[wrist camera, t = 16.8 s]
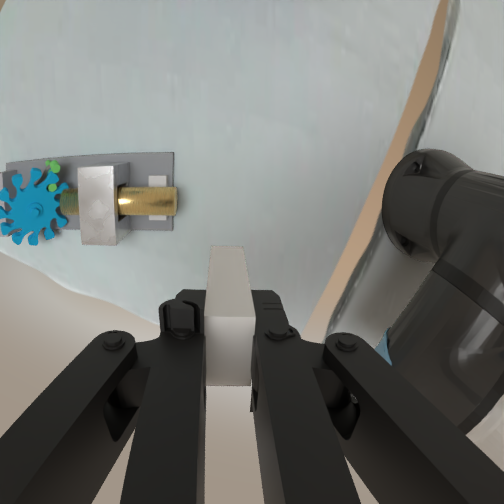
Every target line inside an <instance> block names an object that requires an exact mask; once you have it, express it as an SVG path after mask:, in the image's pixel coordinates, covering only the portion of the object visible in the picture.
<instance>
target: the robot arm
mask: <svg viewBox="0 0 504 504" xmlns="http://www.w3.org/2000/svg"><path fill="white" fill-rule="evenodd" d="M382 217H383V222H384V226H385V229H386V232H387V234H388V236H389V238H390V240H391V241H392V242H393V244H394V245H395V246H396V247H397V248H398V249H399V250H401V251H402V252H403V253H405V254H406V255H408V256H409V257H411V258H413V259H416V260H418V261H422V262H432V263H436V264H435V265H434V267H433V269H432V270H431V271H430V273H429V274H428V276H427V277H426V279H425V280H424V282H423V283H422V285H421V286H420V288H419V289H418V291H417V292H416V294H415V295H414V297H413V298H412V300H411V301H410V303H409V304H408V305H407V307H406V308H405V309H404V311H403V312H402V314H401V315H400V316H399V318H398V319H397V320H396V321H395V323H394V324H393V325H392V327H391V328H388V329H387V330H386V331H385V333H384V335H383V338H382V340H381V341H380V343H379V344H378V345H377V347H376V348H375V350H374V349H373V348H372V347H371V346H370V345H369V344H368V343H367V342H365V341H364V340H363V339H362V338H360V337H359V336H356V335H353V334H351V333H344V332H342V333H334V334H331V335H329V336H328V337H327V338H326V340H325V344H320V343H313V342H309V341H305V340H303V339H301V337H300V334H299V332H298V331H297V330H296V329H295V328H293V327H292V326H290V325H289V323H288V320H287V317H286V314H285V311H284V310H283V306H282V304H281V300H280V297H279V296H278V295H277V294H276V293H275V292H274V291H272V290H251V288H250V283H249V277H248V272H247V266H246V261H245V255H244V250H243V247H236V246H211V253H210V262H209V271H208V280H207V290H188V289H183V290H182V291H181V292H179V293H178V294H177V295H176V298H175V299H172V300H168V301H166V302H164V303H162V304H161V305H160V307H159V319H160V329H161V333H160V336H159V337H158V338H156V339H153V340H150V341H145V342H137V343H135V338H134V337H133V336H132V335H131V334H130V333H127V332H125V331H117V330H113V331H107V332H105V333H102V334H100V335H98V336H97V337H96V338H94V339H93V340H92V342H90V344H88V346H87V347H85V349H84V350H83V351H82V352H81V353H80V354H79V355H78V356H77V357H76V358H75V359H74V360H73V361H72V362H71V363H70V364H69V365H68V366H67V367H66V368H65V369H64V370H63V371H62V372H61V373H60V374H59V375H58V376H57V377H56V378H55V379H54V380H53V382H52V383H51V384H50V385H49V386H48V387H47V388H46V389H45V390H44V391H43V392H42V393H41V394H40V395H39V396H38V397H37V398H36V399H35V400H34V402H33V403H32V404H31V405H30V406H29V407H28V408H27V409H26V410H25V411H24V413H23V414H22V415H21V416H20V417H19V418H18V419H17V420H16V421H15V422H14V423H13V424H12V426H11V427H10V428H9V429H8V430H7V431H6V432H5V434H4V435H3V436H2V437H1V438H0V504H91V503H92V502H93V500H94V498H95V497H96V495H97V493H98V491H99V489H100V488H101V486H102V484H103V483H104V481H105V479H106V477H107V476H108V474H109V472H110V471H111V469H112V467H113V465H114V464H115V462H116V460H117V459H118V457H119V455H120V453H121V451H122V450H123V448H124V446H125V445H126V443H127V441H128V440H129V438H130V436H131V434H132V433H133V431H134V429H135V428H136V429H135V433H134V438H133V442H132V446H131V451H130V456H129V460H128V465H127V470H126V475H125V479H124V484H123V490H122V495H121V500H120V504H204V483H205V482H204V480H205V477H204V475H205V421H206V386H251V379H252V394H251V407H250V412H253V414H254V424H255V432H256V440H257V448H258V456H259V464H260V472H261V479H262V488H263V495H264V503H265V504H361V502H360V499H359V497H358V493H357V491H356V488H355V485H354V482H353V479H352V476H351V474H350V471H349V468H348V465H347V462H346V460H345V457H346V458H347V460H348V461H349V463H350V464H351V466H352V467H353V468H354V470H355V471H356V473H357V474H358V475H359V477H360V478H361V479H362V481H363V482H364V484H365V485H366V486H367V488H368V489H369V491H370V492H371V493H372V495H373V496H374V497H375V499H376V500H377V501H378V502H379V504H504V176H500V175H495V174H491V173H486V172H481V171H476V170H473V169H472V168H471V167H470V166H468V165H467V164H466V163H464V162H463V161H462V160H460V159H459V158H458V157H456V156H455V155H453V154H451V153H449V152H446V151H443V150H436V149H421V150H417V151H414V152H412V153H410V154H409V155H407V156H406V157H404V158H403V159H402V160H401V161H400V162H399V163H398V164H397V165H396V167H395V168H394V169H393V171H392V173H391V174H390V176H389V178H388V181H387V183H386V186H385V190H384V194H383V200H382ZM344 456H345V457H344Z"/></svg>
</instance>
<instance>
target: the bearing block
mask: <svg viewBox="0 0 504 504" xmlns="http://www.w3.org/2000/svg"><path fill="white" fill-rule="evenodd" d="M77 169H78V200H79V216H80V229H81V240H82V245H117V244H118V243H119V242H120V241H121V240H122V239H123V238H124V237H125V236H126V235H127V234H128V233H129V232H130V231H131V215H118V205H117V187H130V162H115V163H97V164H92V165H87V166H83V167H78V168H77Z"/></svg>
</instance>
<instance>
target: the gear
mask: <svg viewBox="0 0 504 504" xmlns="http://www.w3.org/2000/svg"><path fill="white" fill-rule="evenodd" d="M45 164H46V168H45V170H44V171H43V173H42V172H41V170H40V169H38V168H32V169H31V171H30V174H31V177H30V181H29V183H28V185H27V187H26V188H24V189H21V188H20V186H21V184H22V182H23V177H22V174H16V175H14V176H12V183H13V185H14V186H15V187H16V190H17V195H16V197H15V198H13V199H12V198H10V197H9V191H8V189H7V188H6V187H4V188H3V189H2V190H1V191H0V200H1V201H4V202H6V203H8V204H9V205H10V206H11V208H12V209H11V210H10V211H5V210H4V208H3V207H2V206H0V219H2V218H9V219H12V220H14V222H13V223H11V224H9V223H7V222H2V223H1V224H0V227H1V232H2V234H3V235H7V234H8V233H9V232H10V231H12V230H14V229H19V228H21V229H22V230H21V231H20V232H15V233H13V235H12V240H13V242H14V243H16V244H17V245H19V244H20V243H21V242H22V239H23V237H24V236H25V235H26V234H27V233H29V232H30V231H34V233H33V234H31V235H30V236H29V237H28V242H29V244H30V245H37V244H38V234H39V232H40V230H41V229H42V228H43V227H46V229H45V231H44V235H45V238H46V240H49V239H52V238H54V236H55V234H54V232H53V229H52V228H51V227H50V221H51V220H52V219H53V218H56V222H57V224H58V227H60V228H62V227H63V226H64V225H65V224H66V223H67V220H66V218H65V216H63V215H60V214H58V213H57V212H56V211H55V210H56V208H57V207H58V206H60V200H58V199H56V198H54V196H55V195H56V194H61V193H62V191H63V190H64V189H69V187H68V184H67V183H66V182H64V183H62V184H61V185H60V186H58V187H57V186H56V183H57V182H58V181H59V178H58V172H59V171H60V165H59V163H58V161H57V160H53V161H50V160H47V161H46V162H45ZM36 180H38V181H37V182H36V184H35V185H34V182H35V181H36Z"/></svg>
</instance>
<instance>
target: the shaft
mask: <svg viewBox="0 0 504 504" xmlns="http://www.w3.org/2000/svg"><path fill="white" fill-rule="evenodd" d="M117 205H118V215H166V216H175V215H176V211H177V188H176V187H117ZM60 210H61V212H62V214H63V215H79V200H78V188H70V189H64V190H63V191H62V193H61V196H60Z"/></svg>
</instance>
